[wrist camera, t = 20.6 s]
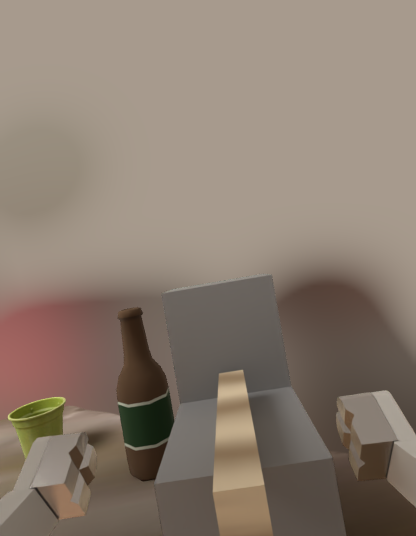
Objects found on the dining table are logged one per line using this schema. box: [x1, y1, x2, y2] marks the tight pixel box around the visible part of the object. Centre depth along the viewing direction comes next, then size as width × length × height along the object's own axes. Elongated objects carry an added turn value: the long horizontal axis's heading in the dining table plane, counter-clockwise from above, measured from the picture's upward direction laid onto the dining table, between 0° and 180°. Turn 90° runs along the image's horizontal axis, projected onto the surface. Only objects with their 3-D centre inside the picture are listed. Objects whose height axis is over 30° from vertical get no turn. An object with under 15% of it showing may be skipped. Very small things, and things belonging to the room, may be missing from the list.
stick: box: [213, 370, 273, 536], centre depth 26 cm, size 19×2×3 cm, turn 177°
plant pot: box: [8, 397, 66, 459], centre depth 63 cm, size 9×9×9 cm
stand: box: [154, 274, 346, 536], centre depth 34 cm, size 22×12×26 cm, turn 177°
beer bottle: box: [117, 307, 174, 481], centre depth 52 cm, size 8×8×24 cm
